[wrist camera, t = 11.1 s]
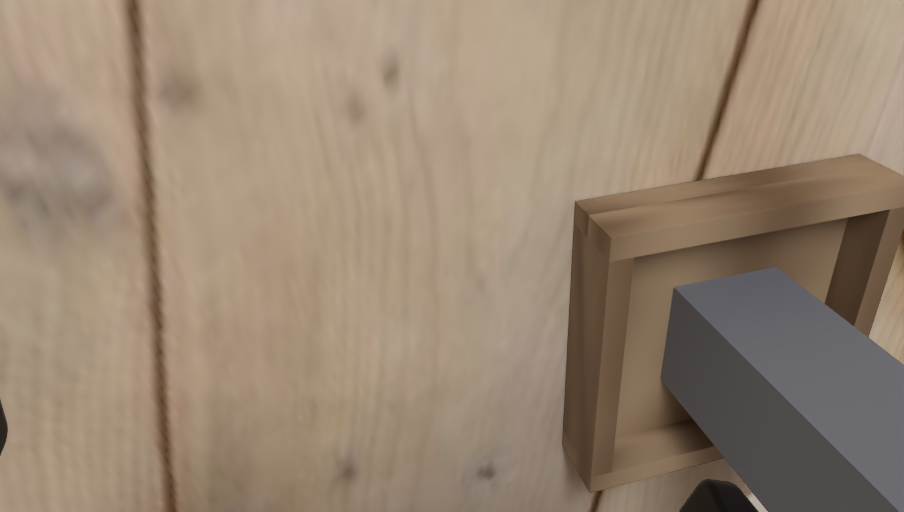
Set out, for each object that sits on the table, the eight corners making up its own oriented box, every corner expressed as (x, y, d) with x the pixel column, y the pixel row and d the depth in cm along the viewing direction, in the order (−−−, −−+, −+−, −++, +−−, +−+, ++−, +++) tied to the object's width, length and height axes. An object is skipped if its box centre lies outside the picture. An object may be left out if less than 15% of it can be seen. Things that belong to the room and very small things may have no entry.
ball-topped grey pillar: (660, 378, 26) (969, 761, 15) (673, 286, 24) (1041, 654, 13) (755, 357, 27) (1114, 705, 16) (776, 266, 25) (1203, 596, 14)
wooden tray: (562, 444, 28) (589, 493, 26) (575, 201, 22) (611, 238, 20) (796, 387, 30) (838, 428, 28) (859, 153, 25) (918, 182, 23)
